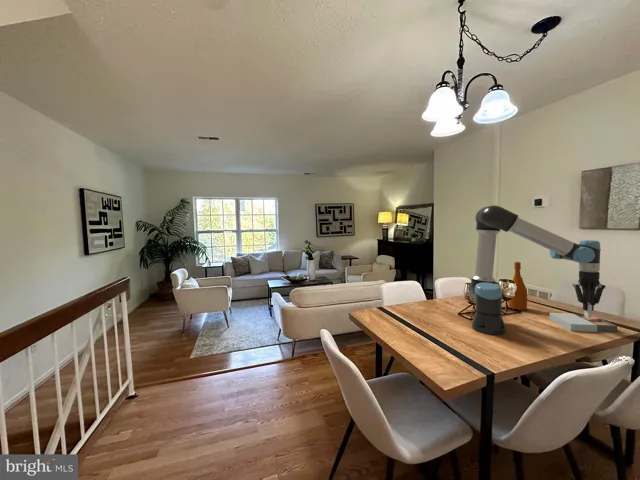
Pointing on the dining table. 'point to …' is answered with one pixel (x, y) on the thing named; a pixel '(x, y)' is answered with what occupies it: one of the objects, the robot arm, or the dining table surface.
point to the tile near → (600, 323)
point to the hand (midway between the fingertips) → (588, 316)
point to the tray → (604, 326)
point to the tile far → (591, 319)
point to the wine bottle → (519, 291)
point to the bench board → (573, 322)
